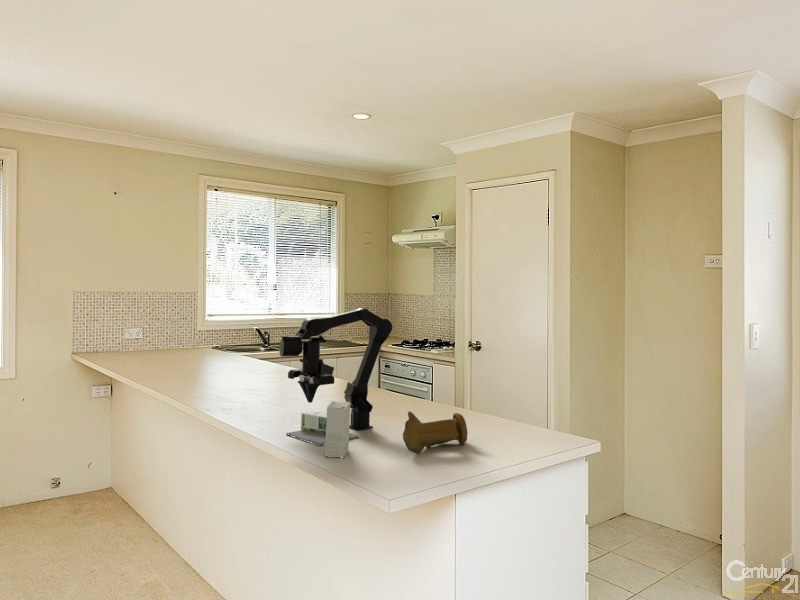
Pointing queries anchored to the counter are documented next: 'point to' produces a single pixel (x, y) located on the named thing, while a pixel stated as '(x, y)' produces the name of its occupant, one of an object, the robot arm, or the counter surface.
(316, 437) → the mat
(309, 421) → the syrup box
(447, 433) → the brown flanged cylinder
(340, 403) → the skincare box
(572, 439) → the counter surface
